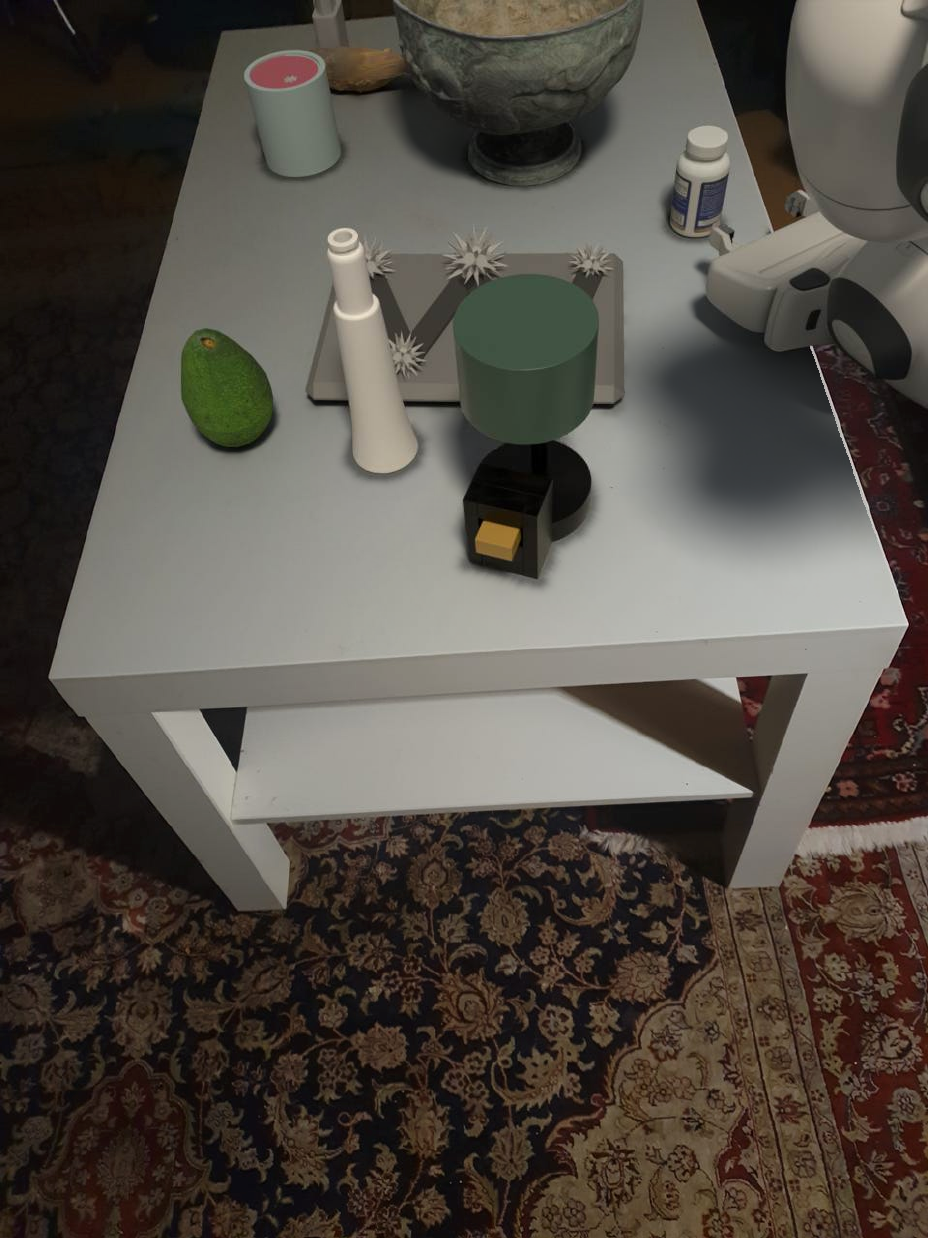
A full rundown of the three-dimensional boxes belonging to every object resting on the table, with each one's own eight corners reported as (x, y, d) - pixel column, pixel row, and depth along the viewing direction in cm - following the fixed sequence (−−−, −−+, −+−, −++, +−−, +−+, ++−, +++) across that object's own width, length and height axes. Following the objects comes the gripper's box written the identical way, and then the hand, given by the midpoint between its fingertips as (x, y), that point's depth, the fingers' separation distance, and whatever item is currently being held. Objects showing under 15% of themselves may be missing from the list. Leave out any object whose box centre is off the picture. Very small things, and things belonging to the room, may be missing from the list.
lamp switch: (512, 561, 71) (511, 548, 70) (475, 552, 72) (474, 539, 71) (521, 538, 73) (521, 524, 71) (485, 529, 73) (484, 516, 72)
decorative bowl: (682, 172, 104) (700, -29, 88) (480, 251, 100) (460, 55, 83) (566, 81, 119) (563, -107, 102) (386, 146, 114) (352, -39, 98)
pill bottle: (723, 212, 100) (740, 124, 92) (714, 242, 98) (730, 153, 90) (674, 206, 102) (686, 118, 93) (664, 235, 99) (675, 147, 91)
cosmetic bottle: (353, 478, 83) (300, 267, 65) (351, 430, 86) (300, 216, 68) (420, 470, 83) (386, 256, 65) (415, 422, 86) (381, 206, 68)
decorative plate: (306, 410, 88) (289, 351, 82) (342, 268, 100) (329, 208, 94) (623, 413, 85) (629, 352, 79) (622, 266, 97) (627, 204, 91)
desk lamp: (561, 585, 75) (566, 403, 58) (446, 556, 77) (420, 374, 61) (603, 470, 81) (619, 277, 65) (496, 447, 84) (485, 255, 67)
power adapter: (351, 55, 125) (335, -46, 115) (344, 76, 122) (327, -26, 112) (329, 56, 126) (311, -45, 116) (322, 76, 123) (302, -25, 113)
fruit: (198, 471, 85) (152, 370, 75) (203, 410, 89) (160, 308, 79) (283, 460, 85) (248, 359, 75) (284, 400, 89) (251, 297, 79)
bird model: (296, 81, 122) (287, 41, 118) (453, 73, 121) (450, 32, 117) (290, 105, 119) (281, 65, 115) (451, 97, 117) (448, 55, 113)
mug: (336, 174, 110) (319, 88, 101) (260, 178, 110) (237, 93, 102) (348, 113, 117) (333, 28, 109) (277, 117, 118) (257, 32, 110)
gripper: (951, 217, 83) (843, 148, 90) (774, 301, 79) (675, 222, 86) (926, 276, 89) (826, 207, 96) (760, 359, 84) (667, 280, 91)
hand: (753, 215), depth 91 cm, fingers open, 8 cm apart
